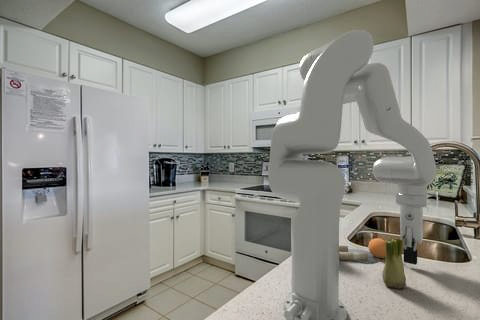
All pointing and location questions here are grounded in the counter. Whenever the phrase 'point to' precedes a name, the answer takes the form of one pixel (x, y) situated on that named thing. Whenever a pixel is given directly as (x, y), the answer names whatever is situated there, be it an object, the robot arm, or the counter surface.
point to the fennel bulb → (394, 265)
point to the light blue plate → (370, 257)
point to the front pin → (353, 256)
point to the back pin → (343, 248)
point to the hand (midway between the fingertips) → (410, 262)
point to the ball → (377, 247)
